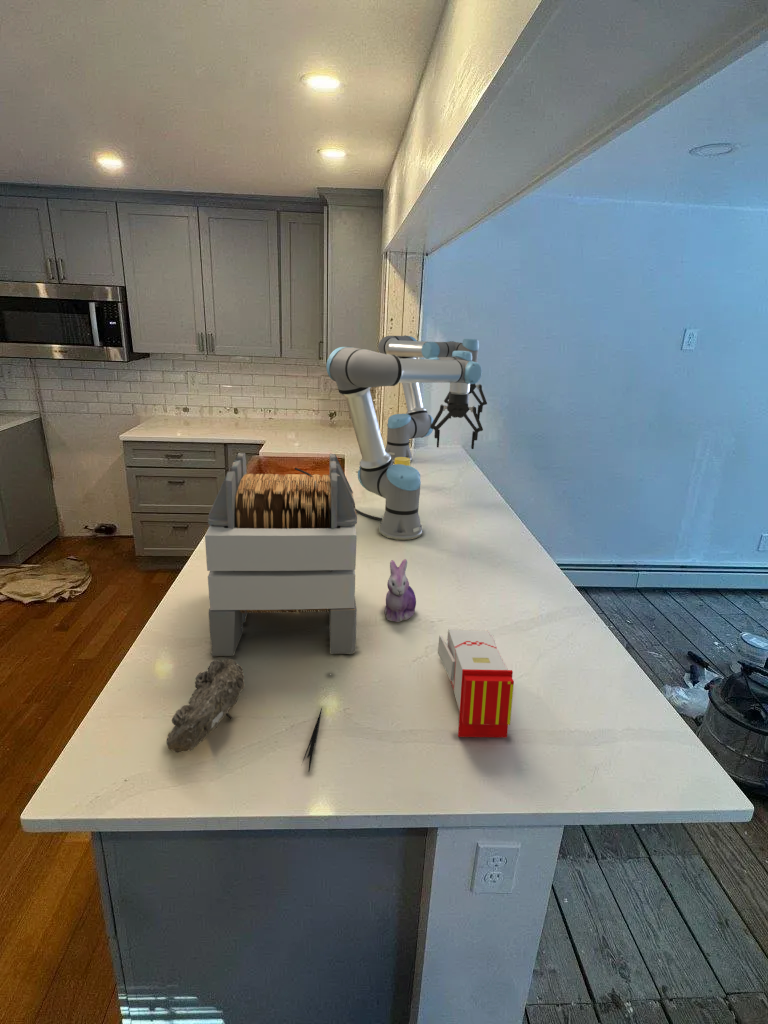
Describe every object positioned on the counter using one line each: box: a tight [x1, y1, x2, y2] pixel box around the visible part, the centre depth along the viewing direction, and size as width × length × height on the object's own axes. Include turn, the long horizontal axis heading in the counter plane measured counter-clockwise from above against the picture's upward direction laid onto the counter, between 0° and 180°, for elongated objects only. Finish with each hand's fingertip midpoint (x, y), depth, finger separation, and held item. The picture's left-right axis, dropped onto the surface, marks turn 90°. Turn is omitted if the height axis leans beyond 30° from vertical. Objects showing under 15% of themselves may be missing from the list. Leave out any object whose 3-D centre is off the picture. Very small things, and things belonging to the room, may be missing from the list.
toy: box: [437, 628, 515, 738], centre depth 117 cm, size 12×13×30 cm
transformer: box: [204, 452, 358, 658], centre depth 136 cm, size 34×33×41 cm
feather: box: [301, 673, 332, 771], centre depth 108 cm, size 2×28×2 cm
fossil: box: [166, 658, 245, 754], centre depth 106 cm, size 22×10×15 cm
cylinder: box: [393, 457, 411, 466], centre depth 254 cm, size 7×7×12 cm
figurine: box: [384, 558, 417, 623], centre depth 145 cm, size 9×10×15 cm
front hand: (455, 447), depth 223 cm, fingers open, 13 cm apart
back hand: (463, 418), depth 272 cm, fingers open, 13 cm apart
